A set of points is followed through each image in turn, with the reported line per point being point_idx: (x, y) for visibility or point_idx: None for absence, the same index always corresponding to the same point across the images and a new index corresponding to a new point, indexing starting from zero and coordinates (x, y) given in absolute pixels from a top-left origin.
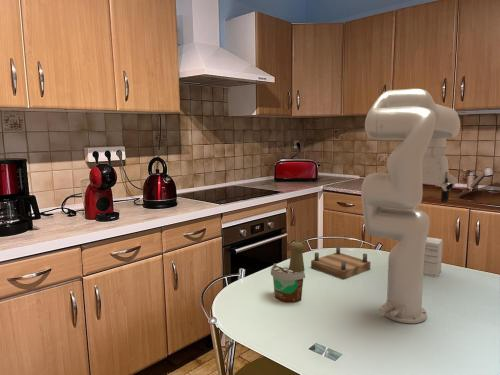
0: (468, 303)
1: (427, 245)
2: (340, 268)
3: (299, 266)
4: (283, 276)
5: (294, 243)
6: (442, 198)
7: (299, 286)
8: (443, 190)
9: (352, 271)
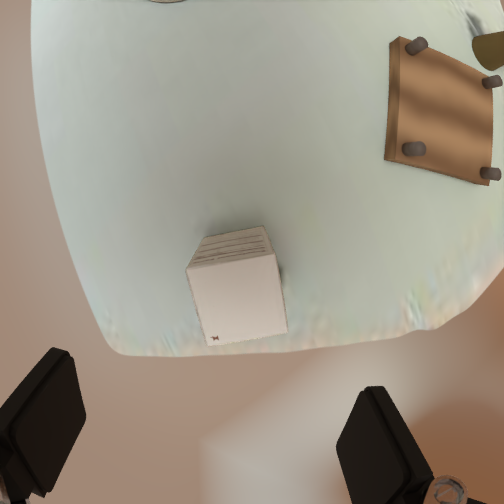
0: (82, 115)
1: (233, 256)
2: (419, 54)
3: (482, 38)
4: None
5: None
6: (39, 368)
7: None
8: (11, 454)
9: (395, 71)
